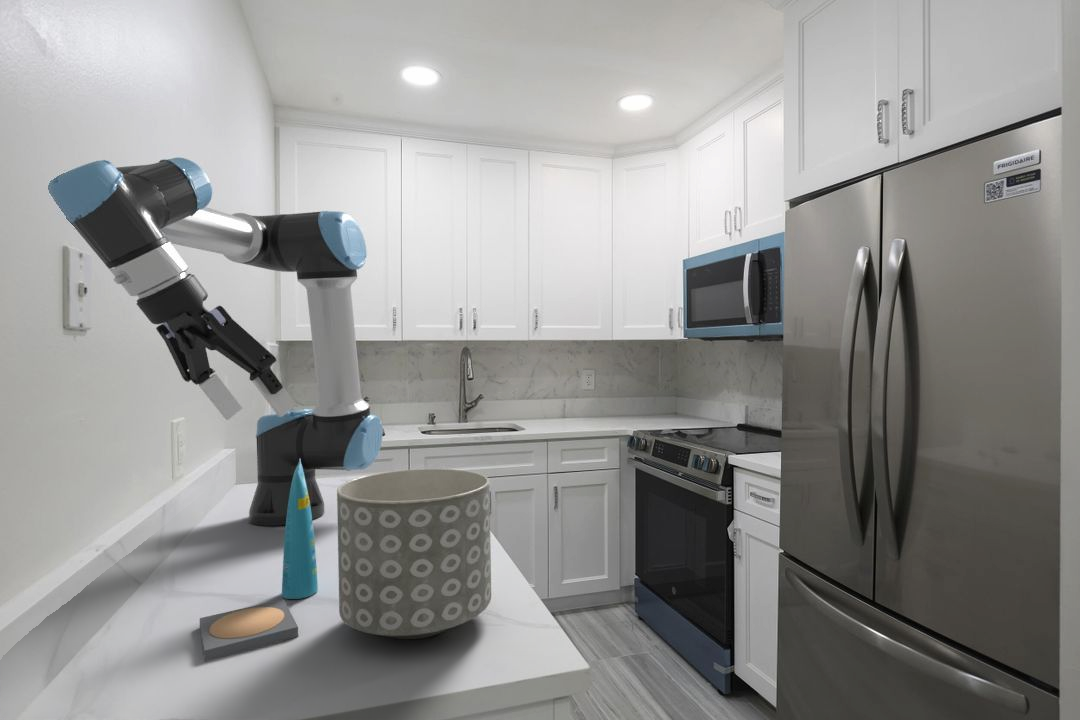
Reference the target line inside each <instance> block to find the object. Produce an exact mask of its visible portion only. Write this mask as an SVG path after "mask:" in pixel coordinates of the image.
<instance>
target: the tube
mask: <svg viewBox="0 0 1080 720" xmlns="http://www.w3.org/2000/svg"><path fill="white" fill-rule="evenodd" d="M284 530H285V531H284V543H283V544H284V546H283V557H282V578H281V579H282V580H281V582H282V583H281V595H282V597H283V599H284V598H285V599H289V600H300V599H305V598H308V597H311V596H313V595H314V594H316V593H317V592H318V591H319V590H318V587H319V586H318V585H319V584H318V572H317V571H318V569H317V556H316V555H317V554H316V541H315V540H316V539H315V532H314V531H315V530H314V523H313V519H312V514H311V507H310V500H309V495H308V490H307V485H306V481H305V476H304V472H303V468H302V464H301V459H300V460H299V463H298V465H297V467H296V470H295V472H294V475H293V479H292V484H291V489H290V495H289V502H288V509H287V518H286V525H285V528H284Z"/></svg>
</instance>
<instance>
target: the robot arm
mask: <svg viewBox="0 0 1080 720" xmlns="http://www.w3.org/2000/svg"><path fill="white" fill-rule="evenodd" d="M67 171H68V172H66V173H63V174H61V175H59V176H57V177H56V178H54V179H53V180H51V181H50V183H49V185H48V190H49V193H50V194H51V196H52V197H53V199H54V201H55V202H56V204H57V205H58V206H59V208H60V209H61V211H62V212H63V213H64V215H65V216H66V219H67V220H68V221H69V222H70V223H71V224H72V225H73V226H74V227H75V228H74V229H75V230H76V231H77V232H78V234H79V235H80V237H82V239H83V240H84V241H85V242H86V243H87V244H88V246H89V247H90V248H91V249H92V251H93V252H94V253H95V254H96V255H97V257H98V258H99V259H100V260H101V261H102V262H103V263H104V265H105V267H106V268H107V269H108V270H109V271H110V272H111V273H112V275H113V276H114V278H113V282H115V283H116V284H117V285H121V286H122V287H123V288H124V290H125V291H126V292H127V294H128V295H129V296H131V297H137V298H138V299H137V300H136V306H137V307H138V308H139V309H140V311H141V312H142V313H143V314H144V316H146V318H147V319H148V321H150V323H151V324H153V325H158V326H156V327H155V329H156V332H158V334H159V335H160V336H161V338H162V339H163V341H164V342H165V345H166V347H167V349H168V351H169V353H170V355H171V357H172V359H173V361H174V363H175V365H176V367H177V369H178V371H179V373H180V375H181V378H182V379H183V381H185V382H187V383H189V382H190V381H191V382H192V383H193V384H194V385H198V387H200V389H201V391H202V392H203V394H205V396H206V397H207V398H208V400H210V402H211V403H212V404H213V406H214V407H215V408H216V410H218V412H219V413H220V414H221V416H222V417H223V418H224V419H225V420H226V421H227V420H228V421H229V420H230V419H232V418H233V417H234V416H235V415H237V413H238V412H240V411H242V409H243V407H242V405H241V404H240V403H239V402H238V399H236V398H235V396H234V395H233V393H232V392H231V391H230V390H229V388H228V387H227V386H226V385H225V384H224V382H223V381H222V380H221V378H220V377H219V376H218V374H216V373H215V372H216V370H214V368H211V366H210V363H209V358H208V353H207V349H208V350H209V351H217V352H218V353H220V354H221V355H222V356H223V357H226V358H227V359H228V360H230V361H231V362H233V364H236V365H237V366H238V367H239V368H241V369H242V370H244V371H245V372H247V373H249V381H251V382H252V383H253V384H254V385H255V387H256V388H257V390H258V391H259V393H261V395H262V396H263V398H264V399H265V400H266V402H267V403H268V404H269V405H270V407H271V409H272V410H273V411H274V413H272V414H265V415H262V416H260V417H259V419H258V420H257V423H256V434H255V438H256V459H257V461H256V462H257V463H256V465H257V468H256V470H257V471H256V472H257V483H256V484H257V485H256V489H255V491H254V495H253V497H252V500H251V504H250V507H249V511H248V518H249V519H248V522H249V524H253V525H256V526H267V527H270V526H271V527H272V526H275V527H276V526H286V518H287V509H288V502H289V495H290V489H291V484H292V479H293V475H294V472H295V470H296V467H297V465H298V463H299V460H300V459H301V464H302V468H303V472H304V476H305V481H306V485H307V490H308V495H309V500H310V507H311V514H312V520H315V519H318V518H319V517H321V516H323V515H324V514H325V501H324V498H323V495H322V492H321V490H320V488H319V487H320V486H319V485H318V482H317V479H316V470H322V471H323V470H325V471H327V470H328V471H330V470H331V471H335V470H336V471H346V472H351V471H356V470H357V471H359V470H360V471H361V470H365V469H367V468H369V467H370V466H372V465H373V463H374V462H375V461H376V459H377V457H378V456H379V452H380V450H381V447H382V442H383V433H384V432H383V430H384V429H383V428H384V427H383V423H382V421H381V418H380V417H379V416H377V415H375V414H371V410H370V403H368V402H367V401H365V400H364V399H363V398H362V393H361V392H362V391H361V380H360V372H359V371H360V370H359V369H360V368H359V359H358V352H357V351H358V350H357V342H356V341H357V339H356V331H355V330H356V329H355V328H356V327H355V319H354V318H355V317H354V310H353V299H352V296H353V295H352V289H351V288H352V285H353V283H355V282H356V280H357V279H358V272H357V270H359V269H361V268H363V267H364V266H365V264H366V258H367V245H366V240H365V238H364V234H363V231H362V230H361V228H360V226H359V224H358V223H357V221H356V220H355V218H353V217H352V216H351V215H350V214H348V213H346V212H345V211H344V212H343V211H331V210H330V211H328V210H321V211H312V212H301V213H288V214H287V213H285V214H272V215H269V214H268V215H251V214H248V213H243V212H235V213H232V214H230V213H226V212H223V211H220V210H216V209H214V208H213V209H212V208H210V207H207V206H208V205H209V204H210V203H211V200H212V197H213V187H212V183H211V181H210V179H209V177H208V175H207V173H206V172H205V170H204V169H203V168H201V166H199V165H198V164H197V163H196V162H194V161H192V160H190V159H188V158H185V157H173V158H168V159H165V158H164V159H160V160H159V161H158V162H155V163H150V164H141V165H139V164H138V165H128V166H119V167H117V166H116V167H115V165H114V164H113V163H112V162H111V161H109V160H105V159H102V160H96V161H93V162H88V163H86V164H83V165H81V166H77V167H75V168H72V169H70V170H67ZM174 245H178V246H182V247H186V248H192V249H196V250H201V251H206V252H209V253H216V254H221V255H223V256H224V257H225V258H226V259H227V260H228V261H230V262H234V263H237V264H243V265H247V266H251V267H256V268H261V269H265V270H268V271H269V270H271V271H276V272H284V273H286V272H287V273H291V272H292V273H296V279H297V282H298V283H300V284H301V285H302V286H303V287H304V288H305V289H306V295H307V298H306V299H307V306H308V307H307V308H308V314H309V323H310V324H309V325H310V334H311V341H312V351H313V361H314V370H315V379H316V388H317V398H318V403H317V404H316V405H315V406H314V408H305V409H298V410H292V409H293V407H295V406H297V403H296V402H295V401H294V399H293V398H292V397H291V395H290V394H289V393H288V391H287V390H286V388H285V386H283V383H281V381H280V380H279V378H278V377H277V376H276V375H275V373H274V371H273V370H272V366H273V364H275V363H276V362H277V358H276V357H275V355H273V354H272V353H271V352H270V351H269V350H268V349H267V348H266V347H264V345H263V344H261V343H260V342H259V341H257V339H255V338H254V337H253V336H252V334H250V333H249V332H248V331H247V330H245V329H244V328H243V327H242V326H241V325H240V324H239V323H238V322H237V321H235V320H234V319H233V318H232V317H231V315H230V314H229V312H227V311H226V309H225V308H224V307H223V306H222V305H218V306H216V307H215V308H212V309H211V310H210V311H209V310H208V309H207V308H206V307H205V306H204V301H206V300H207V298H208V297H209V295H208V292H207V291H206V289H205V288H204V287H203V285H202V284H201V282H200V281H199V280H198V278H197V277H196V276H195V275H194V274H192V273H188V272H187V271H188V270H189V265H187V263H186V262H185V260H184V259H183V258H182V256H181V255H180V253H179V252H178V250H177V249H176V248H175V246H174ZM214 373H215V374H214ZM291 410H292V411H291Z"/></svg>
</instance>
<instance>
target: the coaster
mask: <svg viewBox="0 0 1080 720" xmlns="http://www.w3.org/2000/svg"><path fill="white" fill-rule="evenodd" d="M199 630H200V639H201V645H202V651H203V659H204V662H206V661H210V660H213V659H214V658H215V659H218V658H221V657H226V656H230V655H233V654H236V653H237V654H238V653H240V652H244V651H248V650H252V649H256V648H260V647H263V646H267V645H270V644H275V643H278V642H282V641H286V640H290V639H293V638H297V637H299V626H298V624H297V622H296V620H295V618H294V616H293V614H292V613H291V611H290V608H289V607H288V604H287V602H286V600H285V599H284V598H283V599H278V600H274V601H273V600H272V601H270V602H264V603H260V604H256V605H252V606H247V607H243V608H238V609H233V610H230V611H226V612H225V611H224V612H221V613H217V614H211V615H207V616H203V617H200V618H199Z"/></svg>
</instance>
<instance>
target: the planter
mask: <svg viewBox="0 0 1080 720" xmlns="http://www.w3.org/2000/svg"><path fill="white" fill-rule="evenodd" d="M490 490H491V489H490V479H489V478H488V477H487V476H486V475H484V474H481V473H479V472H475V471H472V470H471V471H469V470H463V469H450V468H421V469H418V468H417V469H401V470H395V471H387V472H386V471H385V472H379V473H373V474H369V475H365V476H360V477H357V478H354V479H350V480H348V481H346V482H344V483H342V484H341V485H339V487H338V488H337V490H336V500H337V501H336V502H337V503H336V504H337V506H336V507H337V508H336V509H337V514H336V515H337V555H338V556H337V560H338V565H337V566H338V606H339V607H338V609H339V610H338V612H339V617H340V619H341V621H342V622H344V623H345V625H347V626H348V627H350V629H351V628H352V629H354V630H355V631H359V632H361V633H366V634H369V635H370V634H371V635H375V636H376V635H377V636H383V637H386V638H391V639H397V640H419V639H424V638H429V637H433V636H435V635H436V636H437V635H439V634H441V633H444V632H446V631H449V630H450V629H452V628H454V627H458V626H460V625H462V624H464V623H467V622H468V621H470V620H472V619H474V618H476V617H478V616H479V615H480V614H481V613H482V612H484V611H485V610H486V609H487V607H488V606H489V604H490V603H491V599H492V556H491V555H492V552H491V547H492V546H491V506H490V505H491V501H490V500H491V496H490V495H491V492H490Z"/></svg>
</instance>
